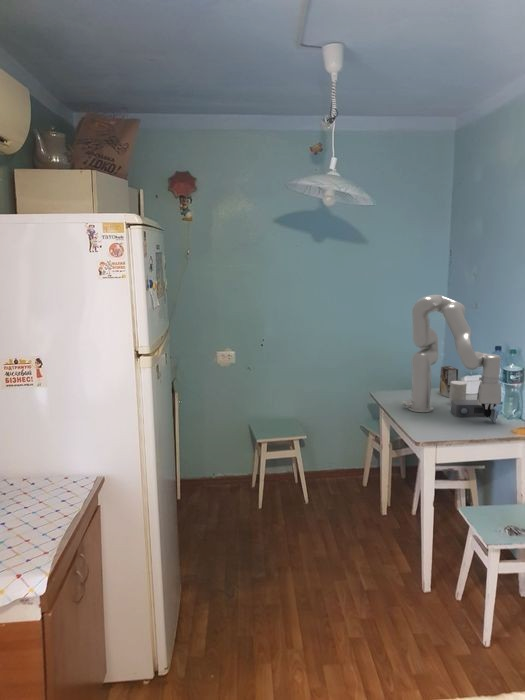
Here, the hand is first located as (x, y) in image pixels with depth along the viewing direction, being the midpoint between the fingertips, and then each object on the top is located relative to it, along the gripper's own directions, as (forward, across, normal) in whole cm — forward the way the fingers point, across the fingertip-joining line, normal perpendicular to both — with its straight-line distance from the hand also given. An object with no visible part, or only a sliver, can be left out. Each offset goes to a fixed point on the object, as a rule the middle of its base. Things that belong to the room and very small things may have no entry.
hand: (487, 416), depth 256 cm
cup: (+3, -6, +29) cm, 30 cm away
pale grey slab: (+2, +4, +2) cm, 5 cm away
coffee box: (+3, -6, +47) cm, 47 cm away
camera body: (+3, -5, +12) cm, 13 cm away
